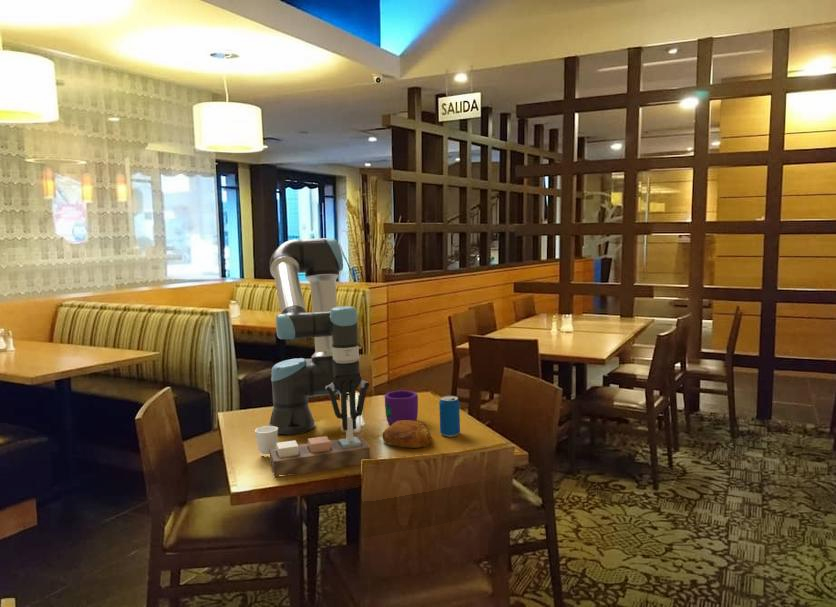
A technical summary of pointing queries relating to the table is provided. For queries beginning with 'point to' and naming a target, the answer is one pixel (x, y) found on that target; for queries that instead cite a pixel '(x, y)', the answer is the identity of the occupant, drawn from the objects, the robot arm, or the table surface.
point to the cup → (266, 438)
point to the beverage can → (449, 416)
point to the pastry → (407, 434)
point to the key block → (319, 458)
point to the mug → (401, 406)
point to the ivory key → (287, 449)
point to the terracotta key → (318, 444)
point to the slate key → (349, 443)
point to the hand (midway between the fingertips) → (349, 440)
